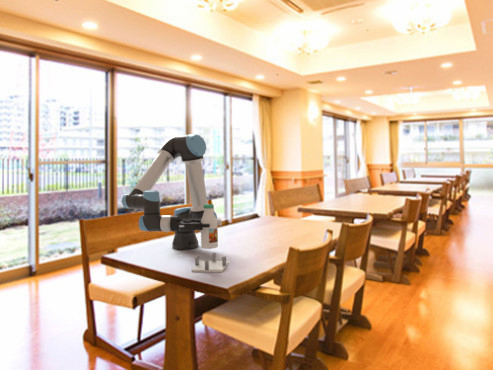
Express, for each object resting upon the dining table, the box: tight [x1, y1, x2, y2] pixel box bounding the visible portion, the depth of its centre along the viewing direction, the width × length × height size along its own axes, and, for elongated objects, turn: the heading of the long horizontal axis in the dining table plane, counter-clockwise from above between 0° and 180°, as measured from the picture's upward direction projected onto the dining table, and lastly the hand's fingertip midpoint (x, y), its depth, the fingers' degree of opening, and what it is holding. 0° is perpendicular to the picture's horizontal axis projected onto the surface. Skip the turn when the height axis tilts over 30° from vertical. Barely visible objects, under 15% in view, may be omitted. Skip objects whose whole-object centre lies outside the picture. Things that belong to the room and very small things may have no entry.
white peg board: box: [191, 252, 229, 273], centre depth 163 cm, size 15×15×5 cm
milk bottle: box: [200, 203, 219, 250], centre depth 162 cm, size 8×8×20 cm
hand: (219, 223), depth 161 cm, fingers closed on milk bottle, 8 cm apart
